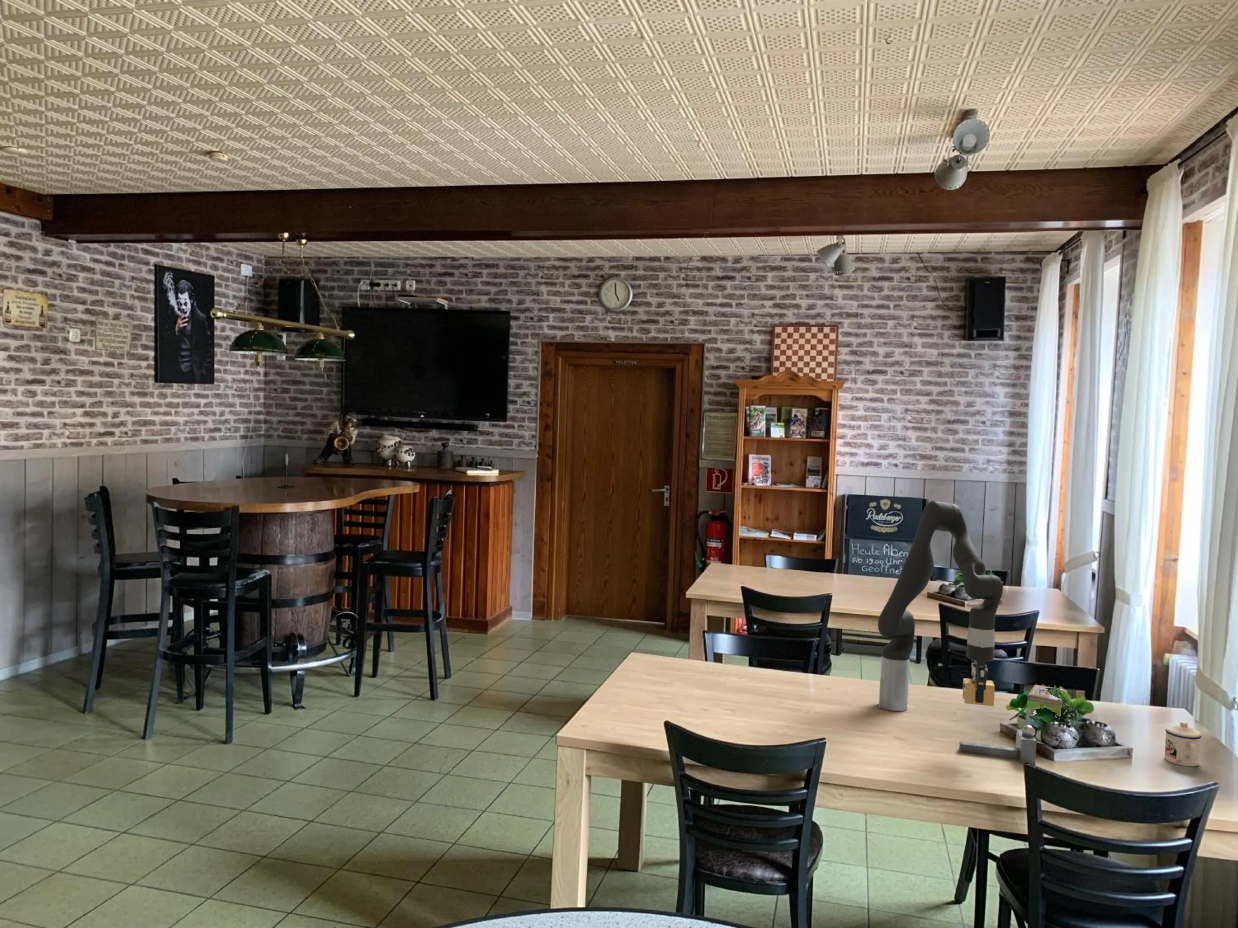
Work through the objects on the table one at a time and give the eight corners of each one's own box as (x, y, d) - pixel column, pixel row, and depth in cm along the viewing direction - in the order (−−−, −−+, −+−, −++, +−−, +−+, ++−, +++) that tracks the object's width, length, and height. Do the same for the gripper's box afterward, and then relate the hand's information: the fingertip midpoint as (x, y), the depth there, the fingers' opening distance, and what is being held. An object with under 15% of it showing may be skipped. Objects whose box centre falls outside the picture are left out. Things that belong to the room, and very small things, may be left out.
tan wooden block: (963, 703, 273) (964, 682, 273) (961, 697, 279) (962, 677, 278) (993, 706, 271) (994, 685, 271) (991, 700, 276) (992, 680, 276)
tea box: (1059, 748, 282) (1062, 700, 281) (1023, 741, 287) (1026, 693, 286) (1065, 735, 294) (1068, 688, 294) (1030, 728, 300) (1033, 683, 299)
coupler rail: (961, 755, 272) (962, 722, 272) (958, 745, 281) (959, 713, 280) (1036, 764, 267) (1038, 730, 266) (1030, 754, 276) (1032, 721, 275)
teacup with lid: (1158, 754, 279) (1160, 716, 279) (1191, 757, 278) (1193, 718, 278) (1175, 769, 268) (1178, 729, 267) (1210, 772, 266) (1213, 731, 266)
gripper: (964, 636, 282) (961, 691, 283) (970, 646, 268) (967, 705, 269) (991, 638, 280) (988, 694, 281) (998, 649, 266) (995, 707, 267)
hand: (977, 699), depth 275 cm, fingers closed on tan wooden block, 5 cm apart
